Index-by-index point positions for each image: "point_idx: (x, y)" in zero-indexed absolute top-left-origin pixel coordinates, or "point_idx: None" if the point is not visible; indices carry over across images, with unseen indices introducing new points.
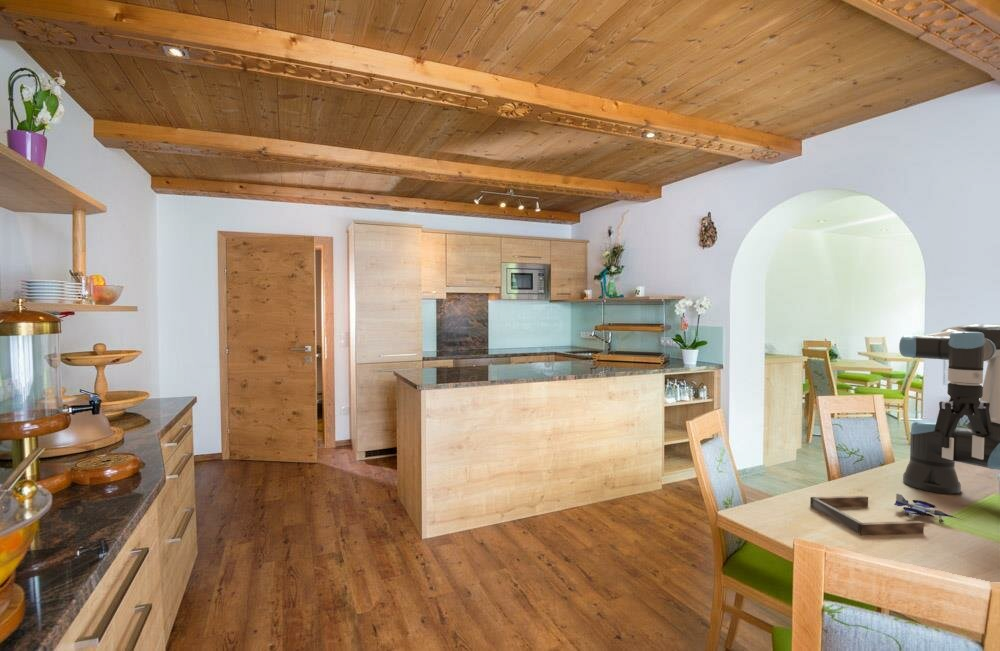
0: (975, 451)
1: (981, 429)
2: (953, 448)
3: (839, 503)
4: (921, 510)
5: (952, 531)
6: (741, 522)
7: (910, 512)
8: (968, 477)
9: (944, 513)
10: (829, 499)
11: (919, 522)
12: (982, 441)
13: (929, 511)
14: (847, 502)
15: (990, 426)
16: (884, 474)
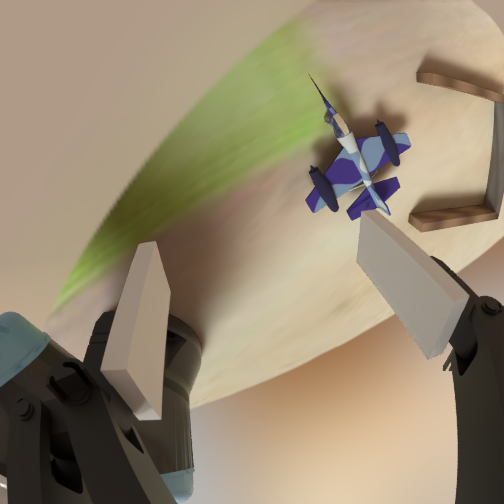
0: (160, 301)
1: (123, 463)
2: (404, 248)
3: (461, 211)
4: (369, 146)
5: (346, 68)
6: None
7: (405, 137)
8: None
9: (338, 114)
10: (479, 213)
11: (439, 76)
12: (126, 337)
13: (355, 139)
14: (451, 213)
15: (18, 475)
16: (205, 389)
